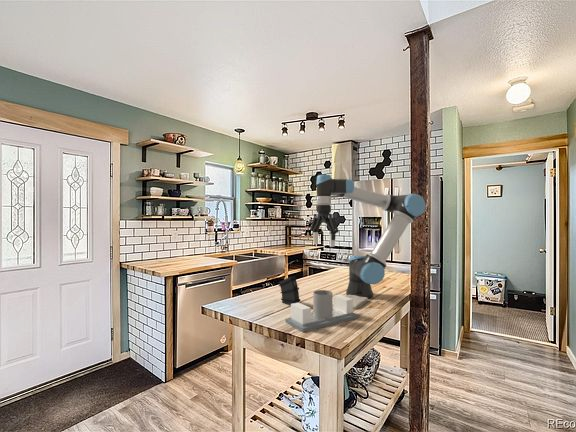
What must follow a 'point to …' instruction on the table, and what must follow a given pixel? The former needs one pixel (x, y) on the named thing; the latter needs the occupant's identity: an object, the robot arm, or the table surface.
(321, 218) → the robot arm
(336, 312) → the steel rail
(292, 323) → the rail board
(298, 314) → the block
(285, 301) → the black ribbed block
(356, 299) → the washcloth
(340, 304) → the module
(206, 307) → the table surface
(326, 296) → the cup
